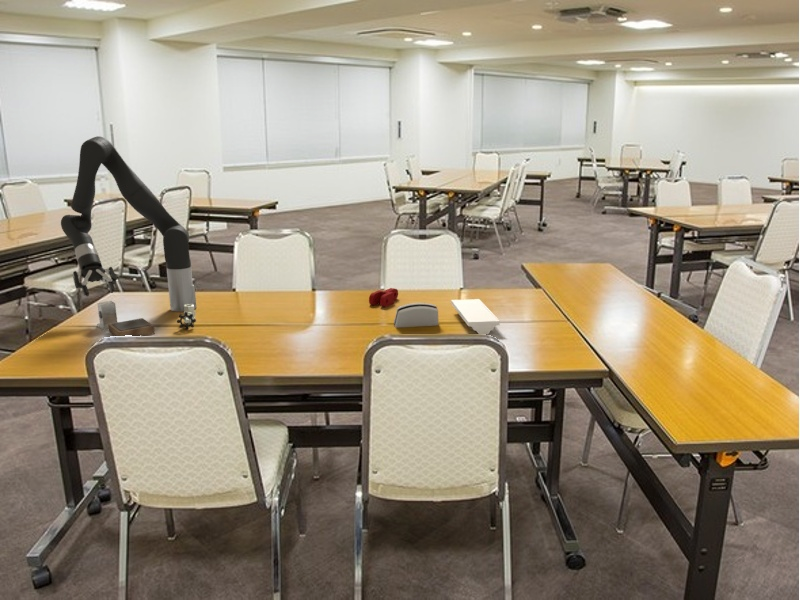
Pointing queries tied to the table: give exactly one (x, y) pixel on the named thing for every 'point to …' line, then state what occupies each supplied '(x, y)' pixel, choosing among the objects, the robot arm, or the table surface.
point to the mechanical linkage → (383, 297)
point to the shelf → (476, 315)
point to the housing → (106, 314)
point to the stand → (131, 328)
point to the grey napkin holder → (416, 315)
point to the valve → (187, 316)
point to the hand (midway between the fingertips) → (100, 293)
